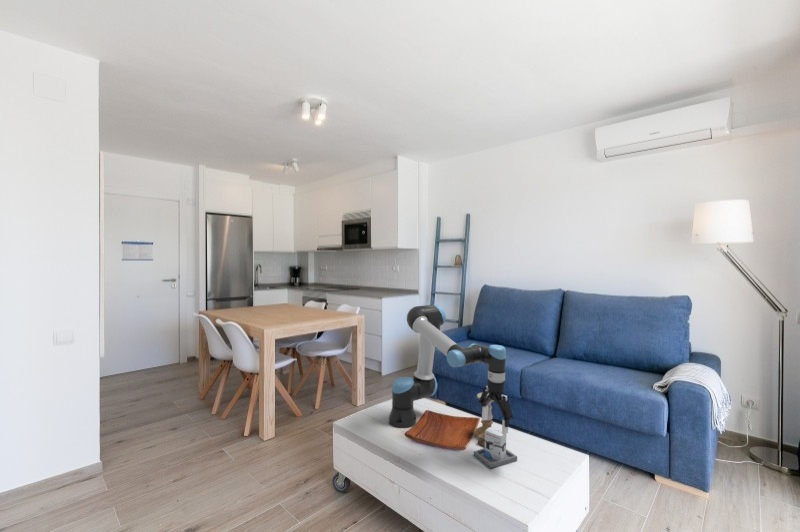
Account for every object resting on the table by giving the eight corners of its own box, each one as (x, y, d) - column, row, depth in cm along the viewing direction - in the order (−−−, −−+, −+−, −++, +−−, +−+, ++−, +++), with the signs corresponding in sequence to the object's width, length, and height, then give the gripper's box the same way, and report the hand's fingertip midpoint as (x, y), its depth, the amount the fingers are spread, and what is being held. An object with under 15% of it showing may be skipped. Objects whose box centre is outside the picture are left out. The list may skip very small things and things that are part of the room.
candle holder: (501, 432, 192) (502, 394, 192) (496, 443, 182) (496, 402, 181) (478, 427, 198) (478, 390, 198) (471, 437, 187) (472, 397, 187)
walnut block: (477, 444, 180) (477, 436, 180) (482, 440, 184) (482, 432, 184) (487, 448, 177) (487, 439, 177) (491, 444, 181) (492, 436, 181)
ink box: (483, 455, 169) (484, 430, 169) (489, 451, 172) (489, 426, 172) (501, 462, 163) (501, 436, 163) (506, 458, 167) (506, 432, 166)
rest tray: (473, 455, 170) (473, 451, 170) (498, 448, 177) (498, 444, 177) (490, 469, 159) (490, 464, 159) (517, 460, 166) (517, 456, 166)
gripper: (472, 372, 176) (470, 416, 177) (509, 391, 154) (507, 441, 155) (484, 370, 180) (483, 413, 181) (523, 388, 157) (521, 437, 159)
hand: (494, 426), depth 168 cm, fingers open, 13 cm apart
